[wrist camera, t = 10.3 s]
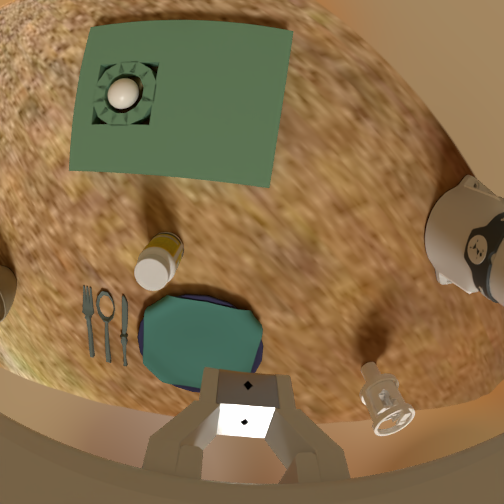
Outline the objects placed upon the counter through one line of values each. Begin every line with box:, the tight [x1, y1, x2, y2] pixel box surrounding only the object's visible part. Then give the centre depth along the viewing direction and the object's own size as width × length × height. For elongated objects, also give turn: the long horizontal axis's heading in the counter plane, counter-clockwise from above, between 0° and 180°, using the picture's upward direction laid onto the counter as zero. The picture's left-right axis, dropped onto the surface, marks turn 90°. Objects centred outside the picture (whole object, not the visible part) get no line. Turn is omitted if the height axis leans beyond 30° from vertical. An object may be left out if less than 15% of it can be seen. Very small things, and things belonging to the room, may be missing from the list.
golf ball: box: [108, 78, 139, 109], centre depth 29 cm, size 4×4×4 cm
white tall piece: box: [360, 362, 415, 436], centre depth 42 cm, size 7×7×15 cm
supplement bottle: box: [134, 232, 184, 291], centre depth 35 cm, size 5×5×8 cm
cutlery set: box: [82, 286, 263, 392], centre depth 44 cm, size 20×30×2 cm, turn 78°
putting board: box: [69, 20, 293, 188], centre depth 31 cm, size 26×20×2 cm
